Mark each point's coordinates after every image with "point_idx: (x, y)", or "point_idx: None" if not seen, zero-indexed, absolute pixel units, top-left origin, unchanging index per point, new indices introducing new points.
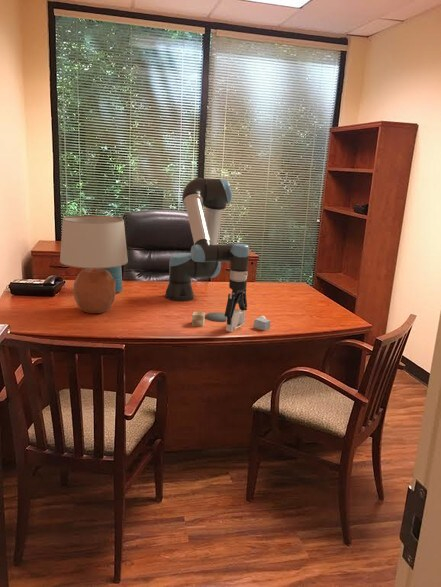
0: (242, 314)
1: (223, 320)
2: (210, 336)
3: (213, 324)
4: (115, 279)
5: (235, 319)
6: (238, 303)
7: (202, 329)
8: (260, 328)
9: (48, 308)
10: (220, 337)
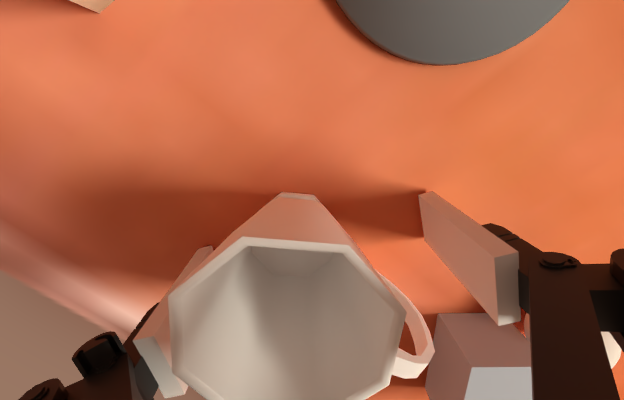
0: (470, 280)
1: (388, 50)
2: (10, 246)
3: (233, 49)
4: None
5: (259, 340)
6: (533, 366)
7: (41, 82)
8: (431, 366)
9: None
10: (71, 301)
